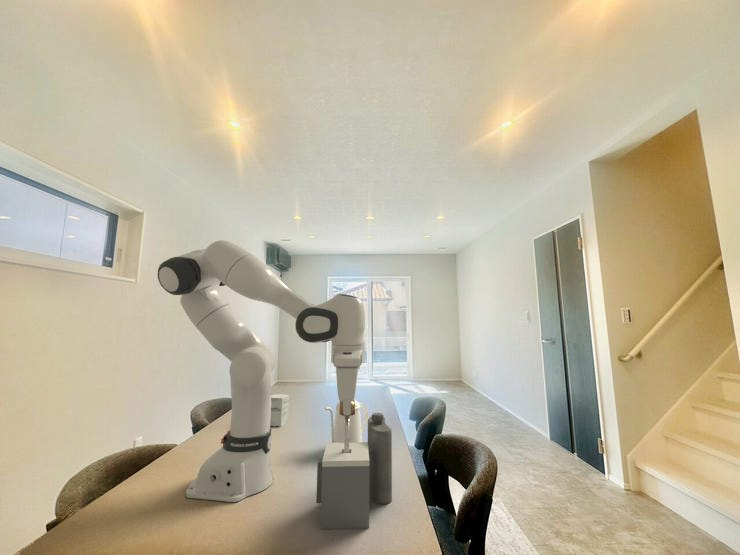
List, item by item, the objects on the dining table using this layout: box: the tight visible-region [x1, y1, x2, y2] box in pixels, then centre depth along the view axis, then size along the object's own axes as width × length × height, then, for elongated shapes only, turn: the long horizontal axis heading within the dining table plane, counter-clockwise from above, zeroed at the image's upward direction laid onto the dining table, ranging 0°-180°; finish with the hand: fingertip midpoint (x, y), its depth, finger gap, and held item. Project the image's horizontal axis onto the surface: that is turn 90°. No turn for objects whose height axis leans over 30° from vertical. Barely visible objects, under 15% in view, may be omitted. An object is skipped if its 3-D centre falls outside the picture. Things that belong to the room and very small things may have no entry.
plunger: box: [339, 399, 356, 453], centre depth 76 cm, size 7×7×25 cm
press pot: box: [315, 441, 370, 530], centre depth 74 cm, size 13×11×14 cm
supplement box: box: [270, 393, 290, 428], centre depth 140 cm, size 7×7×13 cm
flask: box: [367, 412, 393, 505], centre depth 86 cm, size 15×6×20 cm, turn 7°
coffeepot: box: [322, 399, 369, 443], centre depth 112 cm, size 11×25×19 cm, turn 143°
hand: (347, 411), depth 77 cm, fingers closed on plunger, 4 cm apart
